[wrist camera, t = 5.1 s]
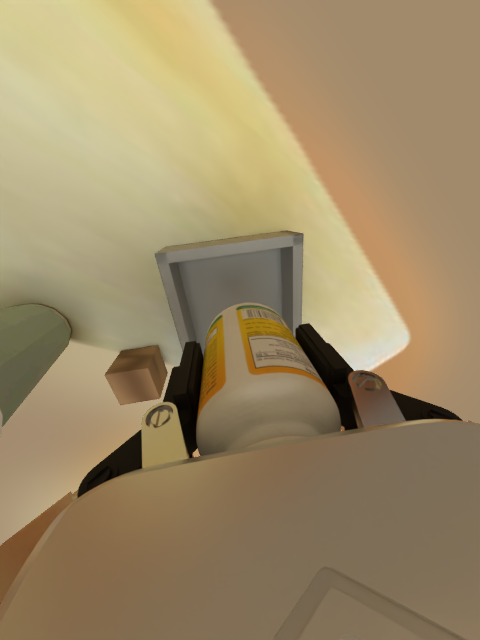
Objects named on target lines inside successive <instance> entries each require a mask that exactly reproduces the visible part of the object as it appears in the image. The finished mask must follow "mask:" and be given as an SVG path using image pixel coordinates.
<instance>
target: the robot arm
mask: <svg viewBox="0 0 480 640" xmlns="http://www.w3.org/2000/svg"><path fill="white" fill-rule="evenodd" d="M295 338H296V340H297V341H298V343H299V345H300V346H301V348H302V349H303V351H304V353H305V354H306V356H307V357H308V359H309V360H310V362H311V364H312V365H313V367H314V368H315V370H316V371H317V373H318V375H319V376H320V378H321V379H322V381H323V383H324V384H325V386H326V387H327V389H328V390H329V392H330V394H331V395H332V397H333V399H334V401H335V403H336V405H337V407H338V410H339V414H340V419H341V430H342V431H340V432H334V433H329V434H323V435H317V436H311V437H305V438H300V439H294V440H288V441H282V442H277V443H271V444H265V445H260V446H254V447H248V448H243V449H237V450H232V451H226V452H221V453H215V454H210V455H204V456H199V457H194V456H193V452H194V451H195V450H196V449H197V448H198V447H197V442H196V425H197V416H198V406H199V397H200V388H201V378H202V369H203V359H204V358H203V354H202V349H201V345H200V343H196V341H190V342H186V343H185V346H184V350H183V354H182V358H181V363H180V366H178V367H174V368H173V369H172V372H171V376H170V379H169V383H168V387H167V390H166V393H165V397H164V400H163V402H162V403H159V404H156V405H155V406H153V407H151V408H150V409H149V410H148V411H147V412H146V413H145V414H144V416H143V418H142V423H141V425H142V426H141V428H142V429H141V430H140V431H139V432H137V433H136V434H135V435H134V436H132V437H131V438H130V439H129V440H128V441H126V442H125V443H124V444H122V445H121V446H120V447H119V448H118V449H116V450H115V451H114V452H113V453H111V454H110V455H109V456H108V457H107V458H105V459H104V460H103V461H101V462H100V463H99V464H98V465H97V466H96V467H94V468H93V469H92V470H91V471H90V472H89V473H88V474H87V475H86V477H85V478H84V479H83V481H82V483H81V484H80V486H79V489H78V490H77V491H76V492H75V493H74V494H72V493H71V492H69V493H68V494H67V495H65V496H64V497H63V498H62V499H60V500H59V501H58V502H56V503H55V504H54V505H52V506H51V507H50V508H49V509H47V510H46V511H45V512H43V513H42V514H41V515H40V516H38V517H37V518H36V519H34V520H33V521H31V522H30V523H29V524H28V525H26V526H25V527H24V528H22V529H21V530H20V531H18V532H17V533H16V534H15V535H13V536H12V537H11V538H9V539H8V540H7V541H5V542H4V543H3V544H2V545H1V546H0V640H480V424H478V423H474V422H471V421H468V422H466V421H463V420H462V419H460V418H459V417H458V416H457V415H455V414H454V413H452V412H450V411H449V410H446V409H444V408H442V407H438V406H435V405H433V404H430V403H427V402H424V401H421V400H418V399H415V398H412V397H409V396H406V395H403V394H400V393H398V392H395V391H392V390H389V388H388V386H387V384H386V383H385V381H384V380H383V379H382V378H381V377H380V376H378V375H377V374H375V373H372V372H369V371H364V370H357V371H354V370H353V369H352V368H351V367H350V366H349V365H348V364H347V362H346V361H345V360H344V359H343V358H342V357H341V356H340V355H339V354H338V352H337V351H336V350H335V349H334V348H333V347H332V346H331V345H330V344H329V343H326V342H325V341H324V340H323V338H322V337H321V336H320V335H319V334H318V333H317V332H316V330H315V329H314V328H313V327H312V326H311V325H310V324H309V323H308V324H301V325H299V326H298V328H296V330H295Z"/></svg>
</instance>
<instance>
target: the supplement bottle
mask: <svg viewBox="0 0 480 640" xmlns="http://www.w3.org/2000/svg"><path fill="white" fill-rule="evenodd" d="M340 431H341V419H340V414H339V410H338V407H337V405H336V403H335V401H334V399H333V397H332V395H331V394H330V392H329V390H328V389H327V387H326V386H325V384H324V383H323V381H322V379H321V378H320V376H319V375H318V373H317V371H316V370H315V368H314V367H313V365H312V364H311V362H310V360H309V359H308V357H307V356H306V354H305V353H304V351H303V349H302V348H301V346H300V345H299V343H298V341H297V340H296V338H295V337H294V335H293V334H292V332H291V331H290V329H289V327H288V326H287V324H286V323H285V321H284V320H283V318H282V317H281V316H280V315H279V314H278V313H277V312H276V311H275V310H273V309H271V308H270V307H268V306H265V305H262V304H258V303H241V304H236V305H233V306H231V307H229V308H227V309H225V310H224V311H222V312H221V313H220V314H218V315H217V316H216V317H215V318H214V320H213V321H212V323H211V325H210V327H209V329H208V331H207V334H206V340H205V350H204V359H203V369H202V378H201V388H200V397H199V406H198V416H197V425H196V442H197V447H198V451H199V454H200V456H204V455H210V454H215V453H221V452H226V451H232V450H237V449H243V448H248V447H254V446H260V445H265V444H271V443H277V442H282V441H288V440H294V439H300V438H305V437H311V436H317V435H323V434H329V433H334V432H340Z"/></svg>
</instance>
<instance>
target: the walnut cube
mask: <svg viewBox="0 0 480 640" xmlns="http://www.w3.org/2000/svg"><path fill="white" fill-rule="evenodd" d="M167 373H168V372H167V369H166V367H165V364H164V361H163V359H162V356H161V353H160V350H159V347H158V345H156V346H150V347H143V348H137V349H131V350H124V351H121V352H120V354H119V355H118V356H117V358H116V359H115V361H114V362H113V364H112V365H111V367H110V368H109V369H108V371H107V372H106V374H105V377H106V379H107V380H108V382H109V384H110V386H111V388H112V390H113V392H114V394H115V396H116V398H117V399H118V401H119V403H120V405H124V404H130V403H136V402H142V401H148V400H154V399H159V398H160V397H161V393H162V390H163V387H164V383H165V380H166V376H167Z"/></svg>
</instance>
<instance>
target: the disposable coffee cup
mask: <svg viewBox="0 0 480 640" xmlns="http://www.w3.org/2000/svg"><path fill="white" fill-rule="evenodd" d="M70 335H71V328H70V326H69V324H68V322H67V319H66V318H65V317H63V316H62V315H61V314H60V313H59V312H57V311H56V310H55V309H53V308H50V307H46V306H43V305H40V304H26V305H17V306H12V307H8V308H4V309H0V436H1V431H2V427H3V426H4V424H5V423H6V422H7V421H8V419H9V418H10V417H11V416H12V414H13V413H14V412H15V411H16V409H17V408H18V407H19V406H20V404H21V403H22V402H23V401H24V399H25V398H26V397H27V396H28V394H29V393H30V392H31V391H32V389H33V388H34V387H35V386H36V384H37V383H38V382H39V381H40V379H41V378H42V377H43V376H44V374H45V373H46V372H47V371H48V369H49V368H50V367H51V366H52V364H53V363H54V362H55V361H56V359H57V358H58V357H59V356H60V354H61V353H62V352H63V351H64V349H65V348H66V347H67V346H68V344H69V340H70Z"/></svg>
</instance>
